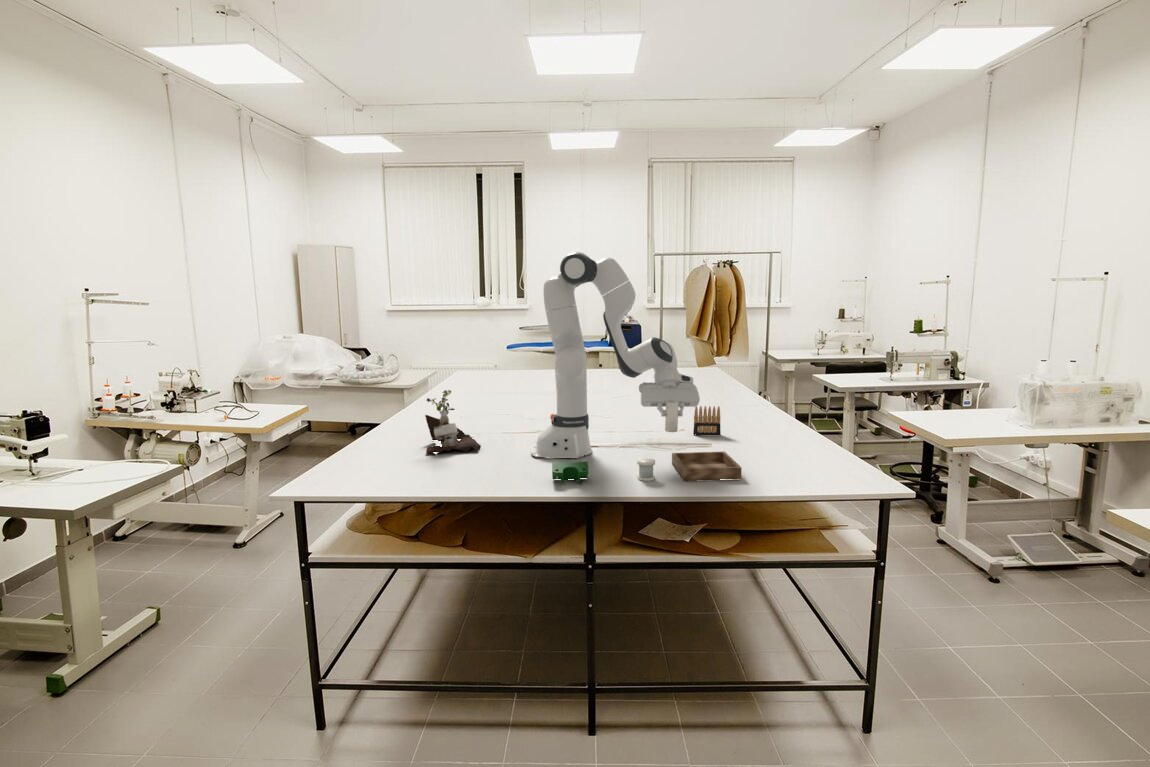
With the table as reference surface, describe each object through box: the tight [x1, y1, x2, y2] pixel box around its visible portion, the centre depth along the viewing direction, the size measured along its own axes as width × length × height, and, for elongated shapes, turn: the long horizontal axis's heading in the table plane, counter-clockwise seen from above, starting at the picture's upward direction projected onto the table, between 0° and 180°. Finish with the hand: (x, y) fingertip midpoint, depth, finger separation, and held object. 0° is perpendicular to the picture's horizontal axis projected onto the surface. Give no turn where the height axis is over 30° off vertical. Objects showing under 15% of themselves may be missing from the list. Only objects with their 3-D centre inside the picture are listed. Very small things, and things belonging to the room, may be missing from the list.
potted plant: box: [424, 389, 480, 454], centre depth 226 cm, size 20×19×25 cm
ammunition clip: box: [692, 405, 722, 436], centre depth 237 cm, size 11×2×12 cm, turn 83°
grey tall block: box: [664, 400, 679, 433], centre depth 201 cm, size 4×4×11 cm
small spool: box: [636, 457, 656, 482], centre depth 185 cm, size 6×6×6 cm
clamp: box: [551, 461, 590, 484], centre depth 183 cm, size 12×6×9 cm, turn 86°
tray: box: [671, 450, 743, 482], centre depth 191 cm, size 18×18×4 cm
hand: (672, 415), depth 200 cm, fingers closed on grey tall block, 4 cm apart
